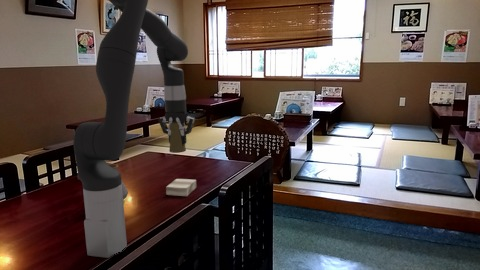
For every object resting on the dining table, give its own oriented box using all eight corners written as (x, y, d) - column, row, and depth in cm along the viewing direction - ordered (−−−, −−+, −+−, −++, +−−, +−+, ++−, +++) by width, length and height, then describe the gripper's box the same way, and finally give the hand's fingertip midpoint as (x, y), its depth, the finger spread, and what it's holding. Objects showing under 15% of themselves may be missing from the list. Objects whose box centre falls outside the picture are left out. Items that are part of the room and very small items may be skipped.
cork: (182, 153, 130) (180, 122, 128) (166, 152, 132) (164, 122, 129) (188, 148, 136) (186, 119, 134) (173, 148, 137) (171, 119, 135)
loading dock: (186, 196, 132) (186, 188, 131) (166, 194, 134) (166, 187, 133) (196, 187, 141) (196, 179, 141) (177, 185, 143) (176, 178, 143)
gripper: (152, 99, 128) (155, 146, 131) (190, 99, 125) (192, 148, 128) (161, 97, 135) (164, 142, 139) (197, 97, 132) (199, 143, 135)
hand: (178, 144), depth 133 cm, fingers closed on cork, 3 cm apart
